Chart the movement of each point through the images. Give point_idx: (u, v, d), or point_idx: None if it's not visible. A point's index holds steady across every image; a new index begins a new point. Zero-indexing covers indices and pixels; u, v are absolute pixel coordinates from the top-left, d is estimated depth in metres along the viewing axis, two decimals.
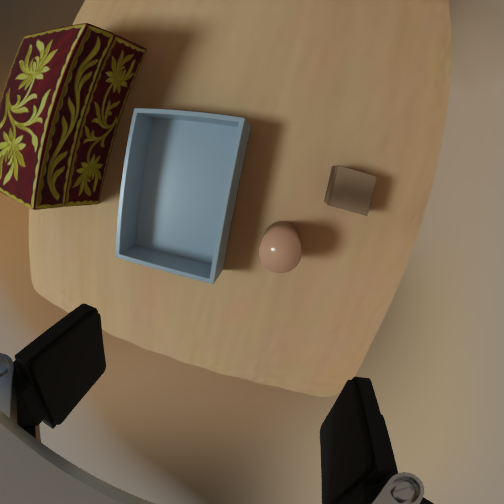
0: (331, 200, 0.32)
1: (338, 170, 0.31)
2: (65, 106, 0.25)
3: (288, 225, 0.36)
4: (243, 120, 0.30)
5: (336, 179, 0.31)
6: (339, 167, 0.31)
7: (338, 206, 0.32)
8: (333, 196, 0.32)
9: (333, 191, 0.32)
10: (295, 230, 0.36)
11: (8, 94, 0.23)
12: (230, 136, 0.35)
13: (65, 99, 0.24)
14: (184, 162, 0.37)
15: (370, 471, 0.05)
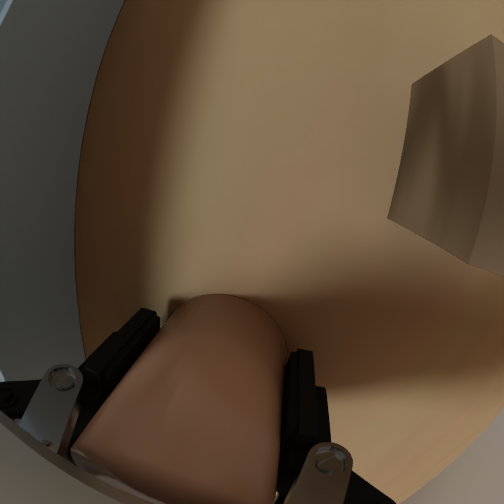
0: (482, 230, 0.04)
1: (497, 57, 0.03)
2: None
3: (232, 332, 0.08)
4: None
5: (500, 102, 0.03)
6: (497, 45, 0.02)
7: None
8: (493, 205, 0.04)
9: (493, 172, 0.03)
10: (264, 353, 0.08)
11: None
12: None
13: None
14: None
15: (295, 435, 0.06)
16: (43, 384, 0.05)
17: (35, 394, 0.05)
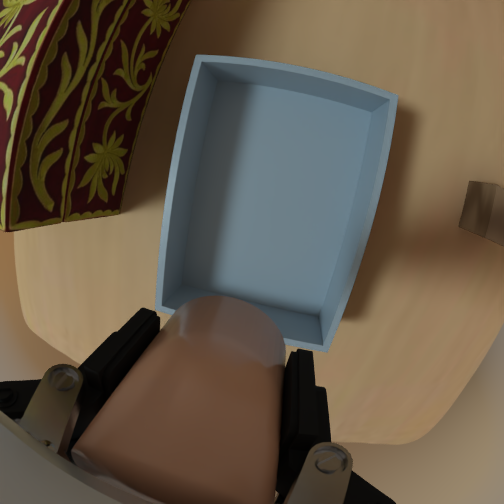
0: (487, 230, 0.18)
1: (496, 191, 0.17)
2: (71, 35, 0.10)
3: (232, 334, 0.08)
4: (396, 98, 0.16)
5: (494, 203, 0.17)
6: (497, 187, 0.17)
7: (492, 239, 0.18)
8: (490, 225, 0.18)
9: (490, 219, 0.17)
10: (264, 355, 0.08)
11: None
12: (350, 121, 0.21)
13: (73, 23, 0.10)
14: (274, 154, 0.23)
15: (294, 435, 0.06)
16: (43, 384, 0.05)
17: (35, 394, 0.05)
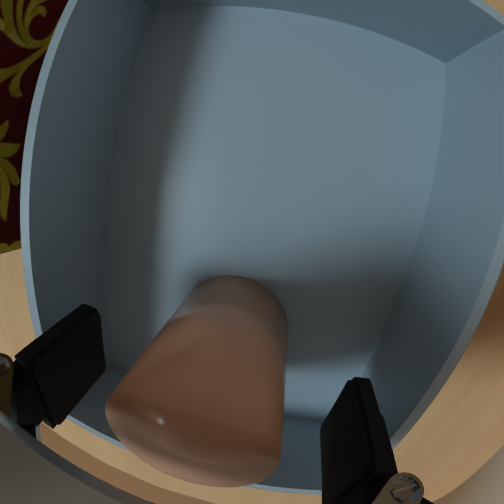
0: None
1: None
2: None
3: (243, 303, 0.10)
4: None
5: None
6: None
7: None
8: None
9: None
10: (270, 321, 0.10)
11: None
12: (412, 72, 0.08)
13: None
14: (256, 133, 0.10)
15: (370, 471, 0.05)
16: None
17: None
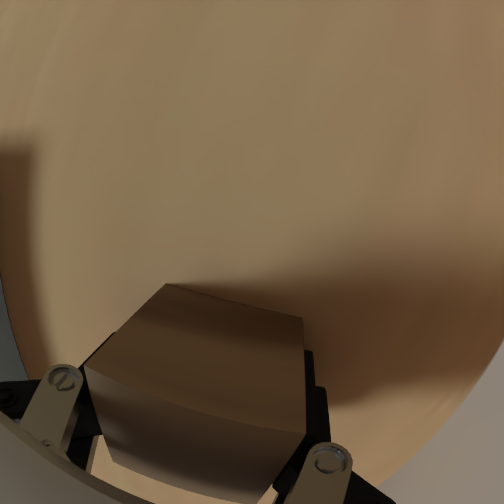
0: (113, 454, 0.06)
1: (91, 384, 0.05)
2: None
3: None
4: None
5: (99, 411, 0.06)
6: (90, 374, 0.05)
7: (142, 472, 0.06)
8: (113, 449, 0.06)
9: (107, 438, 0.06)
10: None
11: None
12: None
13: None
14: None
15: None
16: (43, 384, 0.05)
17: (35, 394, 0.05)
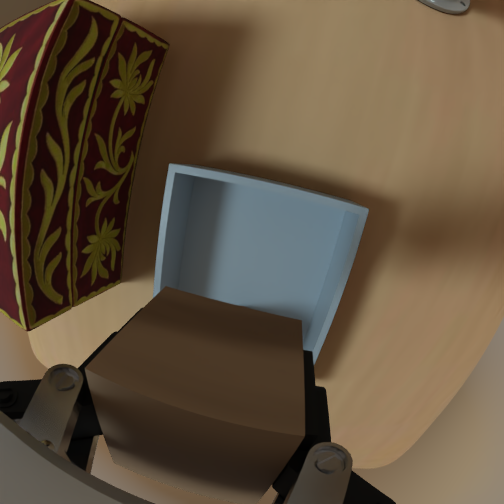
0: (114, 456, 0.06)
1: (92, 386, 0.05)
2: (43, 151, 0.13)
3: None
4: (366, 212, 0.19)
5: (100, 413, 0.06)
6: (91, 377, 0.05)
7: (142, 473, 0.06)
8: (114, 451, 0.06)
9: (108, 439, 0.06)
10: None
11: None
12: (323, 217, 0.24)
13: (41, 138, 0.13)
14: (249, 249, 0.26)
15: None
16: (43, 385, 0.05)
17: (35, 394, 0.05)
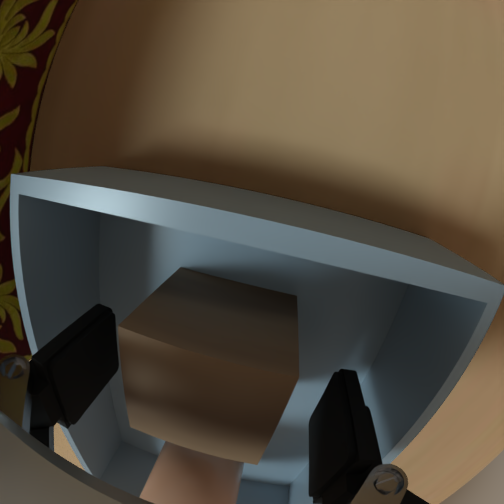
0: (131, 418, 0.08)
1: (122, 343, 0.07)
2: None
3: None
4: (500, 295, 0.05)
5: (125, 370, 0.07)
6: (122, 333, 0.07)
7: (156, 435, 0.08)
8: (132, 411, 0.08)
9: (128, 399, 0.08)
10: None
11: None
12: (373, 275, 0.11)
13: None
14: None
15: (352, 461, 0.05)
16: None
17: None
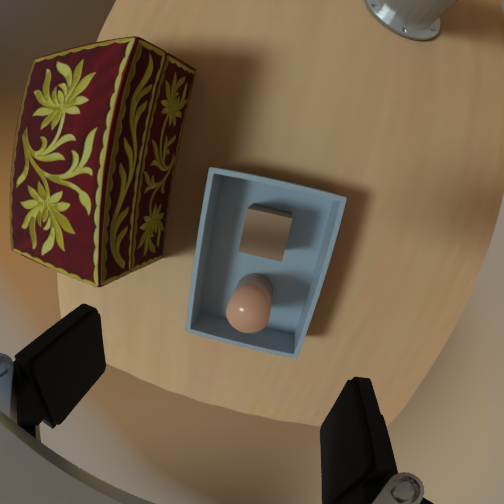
0: (240, 246, 0.31)
1: (247, 213, 0.30)
2: (121, 150, 0.23)
3: (259, 280, 0.35)
4: (345, 200, 0.28)
5: (245, 223, 0.31)
6: (248, 210, 0.30)
7: (248, 252, 0.31)
8: (242, 241, 0.31)
9: (242, 236, 0.31)
10: (267, 285, 0.35)
11: (25, 136, 0.21)
12: (317, 205, 0.34)
13: (121, 141, 0.22)
14: None
15: (370, 471, 0.05)
16: None
17: None
